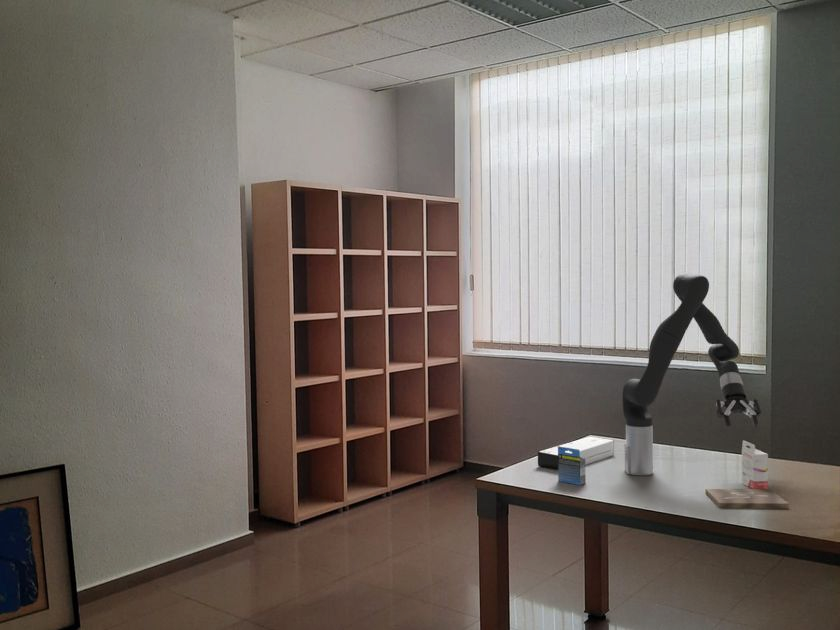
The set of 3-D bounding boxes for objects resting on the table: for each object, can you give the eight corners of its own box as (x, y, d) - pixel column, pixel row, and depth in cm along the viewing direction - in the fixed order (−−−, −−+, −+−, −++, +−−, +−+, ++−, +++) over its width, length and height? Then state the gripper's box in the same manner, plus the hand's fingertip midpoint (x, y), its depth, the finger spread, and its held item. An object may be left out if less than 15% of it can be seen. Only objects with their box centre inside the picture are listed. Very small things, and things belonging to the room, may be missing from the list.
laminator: (589, 451, 307) (589, 436, 307) (616, 456, 299) (616, 440, 298) (537, 468, 284) (537, 451, 283) (565, 474, 275) (565, 456, 275)
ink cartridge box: (768, 489, 249) (769, 444, 248) (754, 490, 248) (754, 445, 247) (755, 482, 257) (755, 439, 256) (740, 483, 257) (741, 439, 256)
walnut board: (719, 508, 231) (719, 502, 231) (705, 493, 246) (705, 488, 246) (788, 508, 229) (788, 503, 229) (770, 493, 244) (770, 488, 244)
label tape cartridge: (586, 483, 261) (585, 447, 260) (580, 486, 258) (579, 449, 257) (563, 479, 267) (563, 444, 266) (557, 481, 264) (557, 446, 263)
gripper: (713, 382, 273) (722, 420, 263) (755, 381, 271) (766, 420, 261) (710, 394, 279) (718, 432, 268) (751, 393, 277) (761, 432, 266)
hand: (742, 426), depth 264 cm, fingers open, 8 cm apart
